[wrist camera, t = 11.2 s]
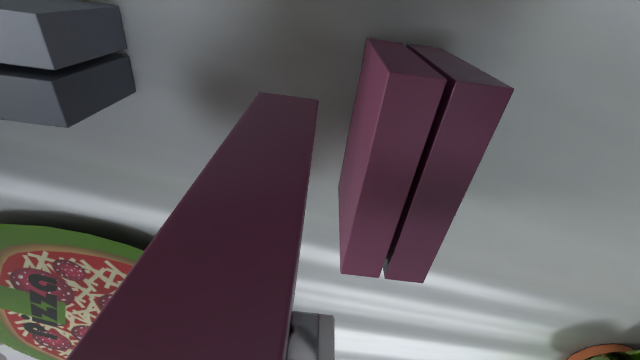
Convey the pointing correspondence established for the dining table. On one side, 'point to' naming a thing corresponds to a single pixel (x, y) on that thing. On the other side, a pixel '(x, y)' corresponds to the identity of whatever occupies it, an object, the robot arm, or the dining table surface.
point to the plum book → (221, 252)
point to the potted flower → (607, 353)
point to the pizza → (55, 286)
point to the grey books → (60, 61)
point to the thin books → (411, 155)
